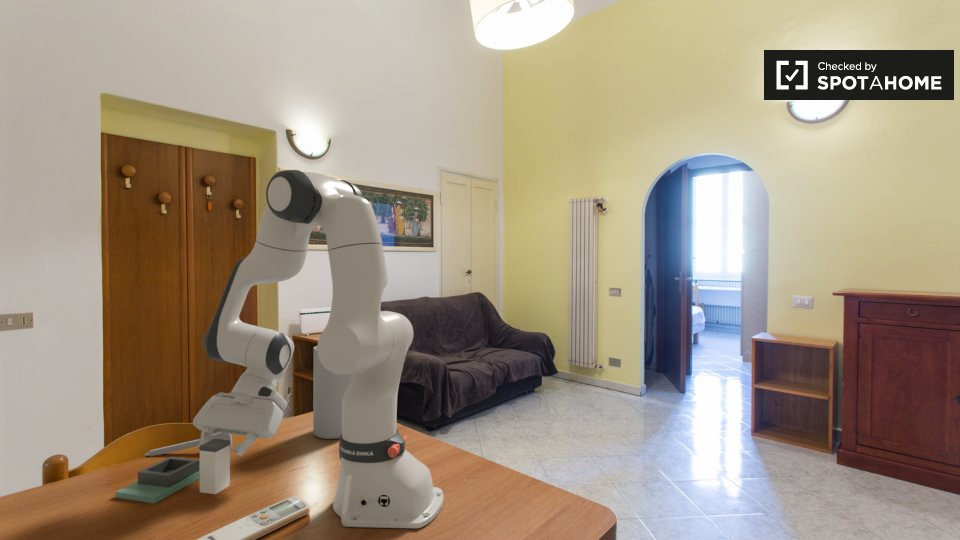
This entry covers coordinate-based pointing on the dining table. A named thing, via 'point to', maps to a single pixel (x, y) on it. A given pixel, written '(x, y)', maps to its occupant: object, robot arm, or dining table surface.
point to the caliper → (188, 444)
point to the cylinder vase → (327, 400)
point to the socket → (161, 480)
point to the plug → (214, 466)
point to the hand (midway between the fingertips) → (219, 451)
